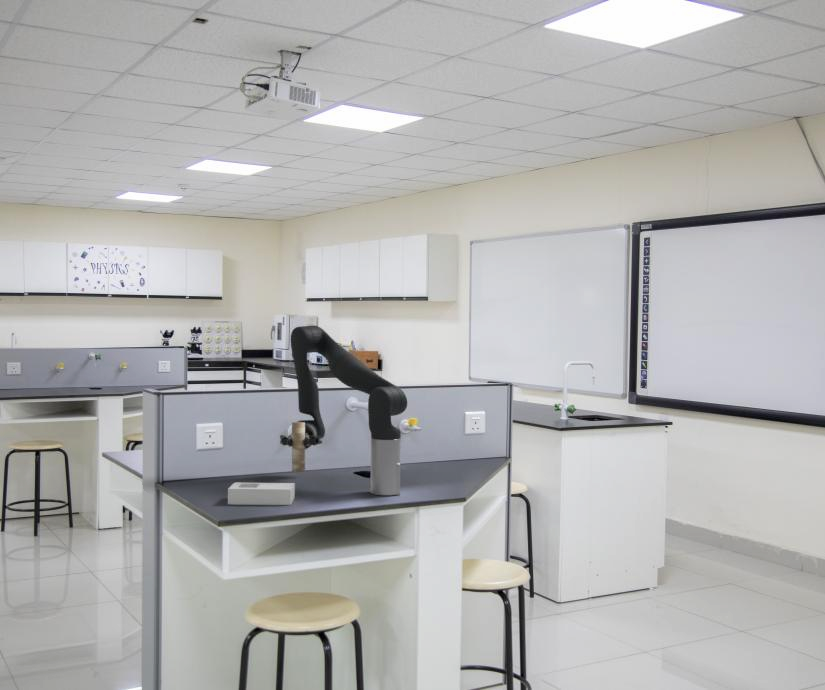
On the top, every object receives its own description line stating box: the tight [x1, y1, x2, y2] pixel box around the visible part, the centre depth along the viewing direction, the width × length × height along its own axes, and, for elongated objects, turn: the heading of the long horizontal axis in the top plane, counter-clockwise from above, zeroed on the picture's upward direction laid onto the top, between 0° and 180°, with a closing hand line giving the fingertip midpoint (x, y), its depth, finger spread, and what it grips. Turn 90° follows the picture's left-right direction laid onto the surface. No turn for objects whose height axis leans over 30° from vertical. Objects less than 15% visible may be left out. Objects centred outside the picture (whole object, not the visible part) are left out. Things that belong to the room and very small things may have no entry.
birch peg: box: [291, 421, 306, 473], centre depth 260 cm, size 4×4×15 cm
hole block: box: [227, 481, 296, 506], centre depth 248 cm, size 18×10×4 cm, turn 91°
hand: (297, 443), depth 257 cm, fingers closed on birch peg, 4 cm apart
